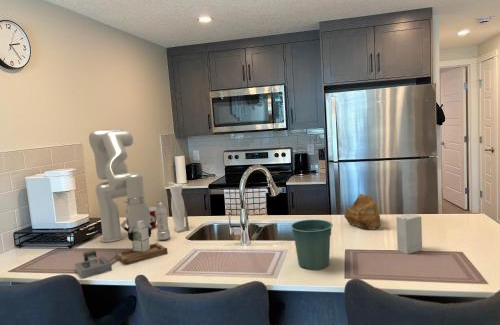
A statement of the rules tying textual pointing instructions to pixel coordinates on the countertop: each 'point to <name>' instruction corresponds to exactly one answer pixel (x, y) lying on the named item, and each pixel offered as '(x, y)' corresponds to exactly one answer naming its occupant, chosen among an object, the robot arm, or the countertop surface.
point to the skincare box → (409, 233)
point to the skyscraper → (178, 208)
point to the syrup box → (140, 237)
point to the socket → (92, 268)
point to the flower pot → (312, 243)
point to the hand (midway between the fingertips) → (140, 238)
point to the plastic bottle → (162, 221)
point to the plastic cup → (152, 213)
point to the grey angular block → (91, 257)
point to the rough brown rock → (363, 213)
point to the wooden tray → (141, 254)
